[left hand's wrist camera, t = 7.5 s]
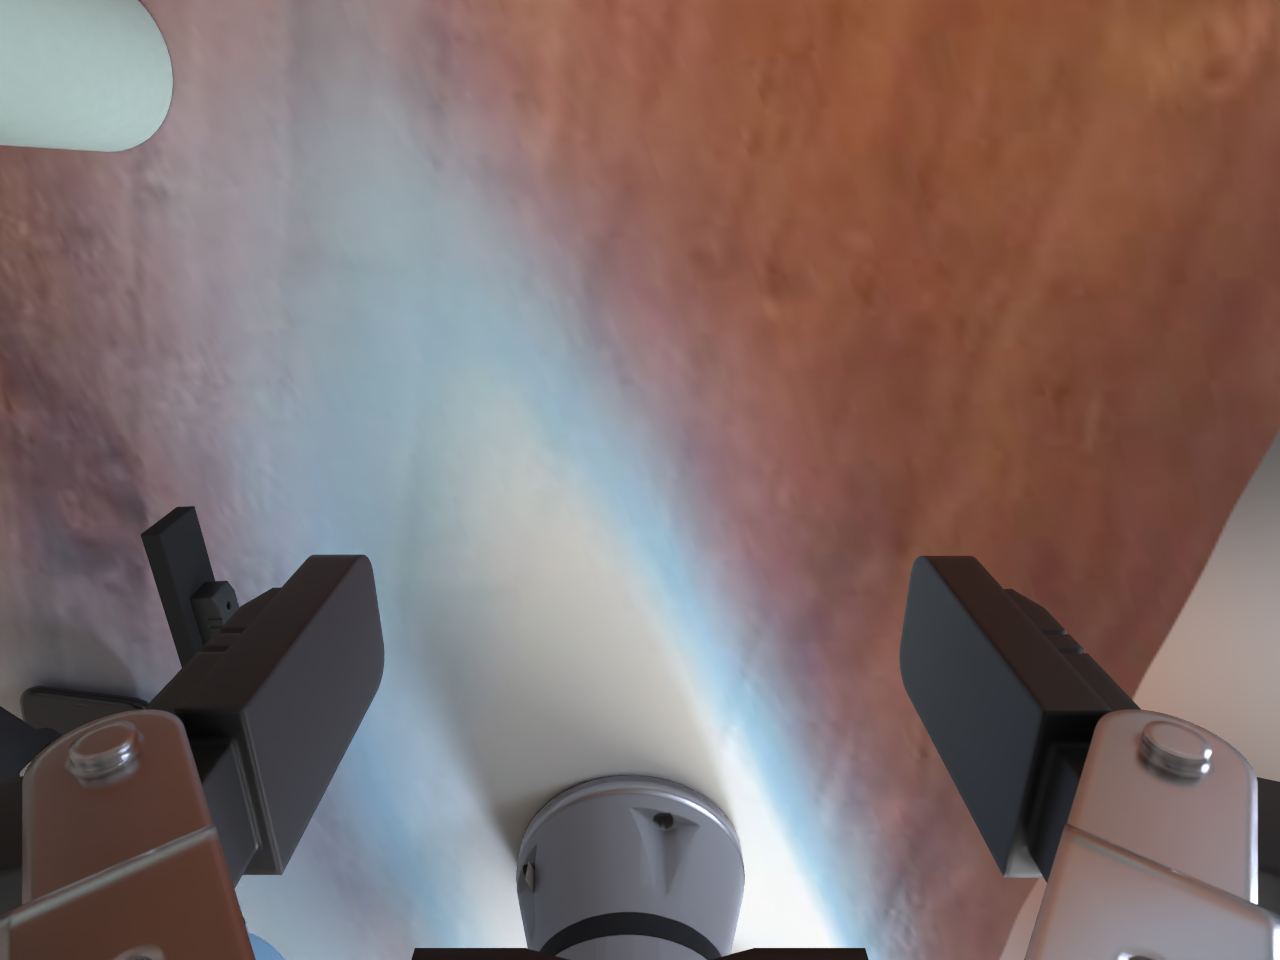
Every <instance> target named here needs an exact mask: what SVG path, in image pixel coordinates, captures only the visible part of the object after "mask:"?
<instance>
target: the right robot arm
mask: <svg viewBox="0 0 1280 960" xmlns="http://www.w3.org/2000/svg"><path fill="white" fill-rule="evenodd" d="M141 537H142V540H143V543H144V547H145V550H146V553H147V556H148V559H149V563H150V566H151V569H152V572H153V576H154V579H155V582H156V585H157V588H158V592H159V595H160V598H161V601H162V604H163V608H164V611H165V614H166V617H167V621H168V624H169V627H170V630H171V633H172V637H173V640H174V643H175V646H176V649H177V653H178V656H179V659H180V662H181V666H182V668H183V667H184V666H185V665H186V664H187V663H188V662H189V661H190V660H191V659H192V658H193V657H194V656H195V654H196V653H197V652H202V650H203V646H204V645H205V644H206V643H207V642H208V641H209V640H210V639H211V638H212V636H213V635H214V634H215V633H220V628H221V627H222V626H223V625H224V624H225V623H226V622H227V621H228V620H229V619H230V617H231V616H232V615H233V614H234V613H235V612H236V611H237V610H238V609H239V605H238V603H237V598H236V594H235V591H234V589H233V588H232V586H231V585H230V584H229V582H228V581H215V579H214V575H213V572H212V568H211V565H210V561H209V557H208V554H207V550H206V546H205V543H204V539H203V536H202V532H201V528H200V525H199V521H198V518H197V514H196V510H195V507H194V506H191V507H176V508H175V509H174V510H172V511H171V512H170V513H169V514H167V515H166V516H165V517H163V518H162V519H161V520H159V521H158V522H157V523H155V524H154V525H153V526H151V527H150V528H149V529H148V530H146V531H145V532H144V533H142V534H141ZM62 736H63V735H62V734H60V733H59V732H57V731H56V730H54V729H52V728H41V729H35V728H33V727H32V726H30V725H28V724H27V723H25V722H24V721H22V720H21V719H19V718H18V717H16V716H14V715H13V714H11V713H10V712H8V711H7V710H5V709H4V708H2V707H1V706H0V781H2V780H7V779H12V778H17V777H20V775H19V774H20V772H21V770H22V769H23V768H24V767H25V766H26V765H27V764H28V763H29V762H30V761H31V760H32V759H33V758H34V757H36V756H37V755H38V754H39V753H40V752H41V751H42V750H44V749H45V748H46V747H47V746H49V745H50V744H51V743H53V742H54V741H56V740H57V739H59V738H60V737H62ZM744 879H745V874H744V865H743V858H742V852H741V846H740V842H739V839H738V836H737V834H736V831H735V829H734V827H733V826H732V824H731V822H730V821H729V819H728V818H727V817H726V816H725V814H724V813H723V812H722V811H721V810H720V809H719V808H718V807H717V806H716V805H715V804H714V803H712V802H711V801H710V800H709V799H707V798H706V797H704V796H703V795H701V794H699V793H698V792H696V791H694V790H692V789H690V788H688V787H686V786H683V785H681V784H678V783H675V782H672V781H669V780H665V779H660V778H655V777H648V776H636V775H626V776H612V777H606V778H600V779H596V780H592V781H588V782H585V783H583V784H580V785H577V786H575V787H573V788H571V789H568V790H567V791H565V792H563V793H561V794H559V795H558V796H557V797H555V798H554V799H552V800H551V801H550V802H548V803H547V804H546V805H545V806H544V807H543V808H542V809H541V810H540V811H539V812H538V813H537V814H536V816H535V817H534V818H533V819H532V821H531V822H530V824H529V826H528V828H527V829H526V832H525V834H524V836H523V840H522V843H521V848H520V854H519V859H518V865H517V873H516V881H517V893H518V899H519V904H520V910H521V915H522V920H523V925H524V931H525V936H526V941H527V946H528V949H531V950H534V951H538V952H542V953H546V954H550V955H553V956H557V957H561V958H565V959H569V960H711V959H715V958H719V957H723V956H727V955H730V954H731V949H732V944H733V940H734V935H735V931H736V926H737V921H738V916H739V912H740V907H741V903H742V898H743V891H744ZM236 896H237V895H236ZM237 899H238V898H237ZM238 902H239V901H238ZM239 906H240V904H239ZM240 909H241V907H240ZM243 919H244V917H243ZM244 922H245V919H244ZM245 926H246V929H247V932H248V936H249V939H250V942H251V946H252V949H253V952H254V956H255V959H256V960H285V959H284V958H283V957H282V956H281V954H280V953H279V952H278V951H277V950H276V949H275V948H274V947H272V946H271V945H270V944H269V943H268V942H266V941H264V940H263V939H261V938H260V937H258V936H256V935H253V934H251V933H249V931H248V928H247V925H246V922H245Z"/></svg>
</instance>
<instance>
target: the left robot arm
mask: <svg viewBox="0 0 1280 960" xmlns="http://www.w3.org/2000/svg"><path fill="white" fill-rule="evenodd" d="M383 667H384V644H383V637H382V630H381V623H380V616H379V609H378V602H377V595H376V588H375V581H374V574H373V569H372V565H371V562H370V560H369V559H368V557H367V556H365V555H312V556H310V557H309V558H308V559H307V560H306V561H305V562H304V563H303V564H302V565H301V566H300V568H299V569H298V570H297V571H296V572H295V573H294V574H293V575H292V577H291V578H290V579H289V580H288V581H287V582H286V583H285V584H284V586H283V587H282V588H272V589H270V590H268V591H267V592H265V593H263V594H262V595H260V596H258V597H256V598H255V599H253V600H251V601H250V602H248V603H246V604H244V605H243V606H241V607H240V608H239V609H238V610H237V611H236V612H235V613H234V614H233V615H232V616H231V617H230V619H229V620H228V621H227V622H226V623H225V624H224V625H223V626H222V627H221V628H220V633H215V634H214V635H213V636H212V638H211V639H210V640H209V641H208V642H207V643H206V644H205V645H204V646H203V650H202V652H197V653H196V654H195V656H194V657H193V658H192V659H191V660H190V661H189V662H188V663H187V664H186V665H185V666H184V667H183V668H182V669H181V670H180V671H179V672H178V673H177V675H176V676H175V677H174V678H173V679H172V680H171V681H170V682H169V683H168V684H167V685H166V686H165V687H164V688H163V689H162V690H161V691H160V693H159V694H158V695H157V696H156V697H155V698H154V699H153V700H152V701H151V702H150V703H149V704H148V705H147V706H146V707H145V708H144V709H143V710H133V711H126V712H121V713H117V714H113V715H109V716H106V717H103V718H100V719H97V720H94V721H92V722H89V723H87V724H85V725H82V726H80V727H78V728H76V729H74V730H72V731H70V732H69V733H67V734H65V735H63V736H62V737H60V738H59V739H57V740H56V741H54V742H53V743H51V744H50V745H49V746H47V747H46V748H45V749H44V750H42V751H41V752H40V753H39V754H38V755H37V756H36V757H35V758H34V760H33V761H32V762H31V764H30V765H29V766H28V768H27V770H26V772H25V774H24V776H21V777H17V778H12V779H7V780H2V781H0V960H256V959H255V956H254V952H253V949H252V946H251V942H250V939H249V936H248V932H247V929H246V926H245V922H244V919H243V916H242V912H241V909H240V906H239V902H238V899H237V896H236V892H235V887H236V885H237V883H238V882H239V880H240V878H241V876H242V875H282V873H283V871H284V869H285V868H286V866H287V864H288V862H289V860H290V858H291V856H292V854H293V852H294V850H295V848H296V846H297V844H298V842H299V841H300V839H301V837H302V835H303V833H304V831H305V829H306V827H307V825H308V823H309V821H310V819H311V817H312V816H313V814H314V812H315V810H316V808H317V806H318V804H319V802H320V800H321V798H322V796H323V794H324V792H325V790H326V789H327V787H328V785H329V783H330V781H331V779H332V777H333V775H334V773H335V771H336V769H337V767H338V765H339V764H340V762H341V760H342V758H343V756H344V754H345V752H346V750H347V748H348V746H349V744H350V742H351V740H352V738H353V737H354V735H355V733H356V731H357V729H358V727H359V725H360V723H361V721H362V719H363V717H364V715H365V713H366V711H367V710H368V708H369V706H370V704H371V702H372V700H373V698H374V696H375V694H376V692H377V690H378V688H379V685H380V682H381V678H382V674H383ZM900 669H901V675H902V680H903V684H904V687H905V689H906V692H907V694H908V696H909V697H910V699H911V701H912V703H913V705H914V707H915V709H916V711H917V713H918V715H919V717H920V718H921V720H922V722H923V724H924V726H925V728H926V730H927V732H928V734H929V736H930V737H931V739H932V741H933V743H934V745H935V747H936V749H937V751H938V753H939V755H940V756H941V758H942V760H943V762H944V764H945V766H946V768H947V770H948V772H949V774H950V776H951V777H952V779H953V781H954V783H955V785H956V787H957V789H958V791H959V793H960V795H961V796H962V798H963V800H964V802H965V804H966V806H967V808H968V810H969V812H970V814H971V815H972V817H973V819H974V821H975V823H976V825H977V827H978V829H979V831H980V833H981V835H982V836H983V838H984V840H985V842H986V844H987V846H988V848H989V850H990V852H991V854H992V855H993V857H994V859H995V861H996V863H997V865H998V867H999V869H1000V871H1001V873H1002V874H1003V876H1004V877H1044V879H1045V880H1046V882H1047V886H1046V889H1045V892H1044V896H1043V899H1042V902H1041V906H1040V909H1039V912H1038V916H1037V919H1036V922H1035V926H1034V929H1033V932H1032V936H1031V939H1030V942H1029V946H1028V949H1027V952H1026V956H1025V959H1024V960H1280V782H1277V781H1272V780H1267V779H1263V778H1259V777H1256V774H1255V772H1254V770H1253V768H1252V766H1251V765H1250V764H1249V762H1248V761H1247V760H1246V758H1245V757H1244V756H1243V755H1242V754H1241V753H1240V752H1239V751H1237V750H1236V749H1235V748H1234V747H1233V746H1231V745H1230V744H1229V743H1227V742H1226V741H1224V740H1223V739H1221V738H1220V737H1218V736H1217V735H1215V734H1213V733H1211V732H1210V731H1208V730H1206V729H1204V728H1202V727H1200V726H1198V725H1195V724H1193V723H1191V722H1188V721H1186V720H1183V719H1180V718H1177V717H1174V716H1171V715H1167V714H1163V713H1159V712H1154V711H1147V710H1141V709H1140V708H1139V707H1138V706H1137V705H1136V704H1135V703H1134V702H1133V701H1132V699H1131V698H1130V697H1129V696H1128V695H1127V694H1126V693H1125V692H1124V691H1123V690H1122V689H1121V688H1120V687H1119V686H1118V685H1117V684H1116V683H1115V682H1114V681H1113V680H1112V679H1111V677H1110V676H1109V675H1108V674H1107V673H1106V672H1105V671H1104V670H1103V669H1102V668H1101V667H1100V666H1099V665H1098V664H1097V663H1096V662H1095V661H1094V660H1093V659H1092V658H1091V657H1090V655H1089V654H1084V653H1083V648H1082V647H1081V646H1080V645H1079V644H1078V643H1077V642H1076V641H1075V640H1074V639H1073V638H1072V637H1071V636H1070V635H1066V634H1065V629H1064V628H1063V627H1062V626H1061V625H1060V624H1059V623H1058V622H1057V621H1056V620H1055V619H1054V618H1053V617H1052V616H1051V615H1050V614H1049V613H1048V611H1047V610H1046V609H1045V608H1043V607H1042V606H1040V605H1038V604H1036V603H1035V602H1033V601H1031V600H1030V599H1028V598H1026V597H1024V596H1023V595H1021V594H1019V593H1017V592H1016V591H1014V590H1012V589H1003V588H1002V587H1001V586H1000V585H999V584H998V583H997V581H996V580H995V579H994V578H993V577H992V576H991V575H990V574H989V573H988V571H987V570H986V569H985V568H984V567H983V566H982V565H981V564H980V563H979V561H978V560H977V559H976V558H974V557H972V556H919V557H918V558H917V559H916V560H915V562H914V564H913V567H912V571H911V576H910V583H909V590H908V597H907V603H906V610H905V617H904V624H903V631H902V637H901V644H900ZM412 960H569V959H565V958H561V957H557V956H553V955H550V954H546V953H542V952H538V951H534V950H531V949H527V948H415V950H414V953H413V957H412ZM711 960H868V957H867V953H866V950H865V948H753V949H749V950H746V951H742V952H738V953H734V954H730V955H727V956H723V957H719V958H715V959H711Z"/></svg>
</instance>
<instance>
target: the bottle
mask: <svg viewBox="0 0 1280 960" xmlns="http://www.w3.org/2000/svg"><path fill="white" fill-rule="evenodd" d="M172 89H173V75H172V67H171V61H170V57H169V53H168V50H167V46H166V44H165V41H164V39H163V37H162V34H161V32H160V31H159V29H158V27H157V25H156V23H155V22H154V20H153V19H152V17H151V16H150V14H149V13H148V11H147V10H146V9H145V8H144V6H143V5H142V4H141V3H140V2H139V1H138V0H0V145H7V146H23V147H40V148H56V149H72V150H88V151H105V152H114V151H123V150H126V149H130V148H133V147H135V146H137V145H139V144H141V143H143V142H144V141H146V140H147V139H149V138H150V137H151V136H152V135H153V134H154V133H155V132H156V131H157V129H158V128H159V127H160V125H161V124H162V122H163V120H164V119H165V117H166V115H167V112H168V109H169V106H170V102H171V98H172Z"/></svg>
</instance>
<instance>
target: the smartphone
mask: <svg viewBox="0 0 1280 960" xmlns="http://www.w3.org/2000/svg"><path fill="white" fill-rule="evenodd" d="M20 704H21V710H22V716H23V721H24V722H25V723H27V724H28V725H30V726H32V727H33V728H35V729H41V728H52V729H54V730H56V731H57V732H59V733H60V734H62V735H65V734H67V733H69V732H70V731H72V730H74V729H76V728H78V727H80V726H82V725H85V724H87V723H89V722H92V721H94V720H97V719H100V718H103V717H106V716H109V715H113V714H117V713H121V712H126V711H133V710H143V709H144V708H145V707H146V706H147V705H148V703H147V702H146V701H144V700H142V699H138V698H133V697H125V696H118V695H110V694H102V693H94V692H85V691H77V690H69V689H61V688H53V687H44V686H35V687H31V688H29V689H27V690H26V691H24V693H23V694H22V696H21V699H20ZM34 758H35V757H34ZM34 758H33V759H32V760H31V762H32V761H33V760H34Z"/></svg>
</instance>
